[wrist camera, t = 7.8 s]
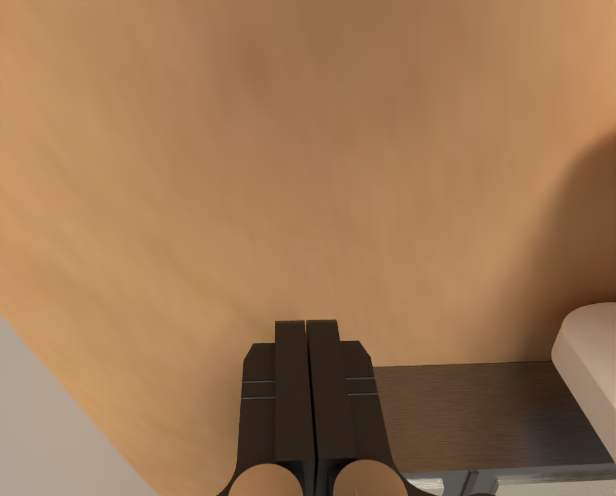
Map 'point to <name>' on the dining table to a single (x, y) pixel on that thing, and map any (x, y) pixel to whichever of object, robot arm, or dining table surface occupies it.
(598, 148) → the dining table surface
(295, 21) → the dining table surface
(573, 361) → the cable organizer
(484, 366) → the block
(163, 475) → the dining table surface
